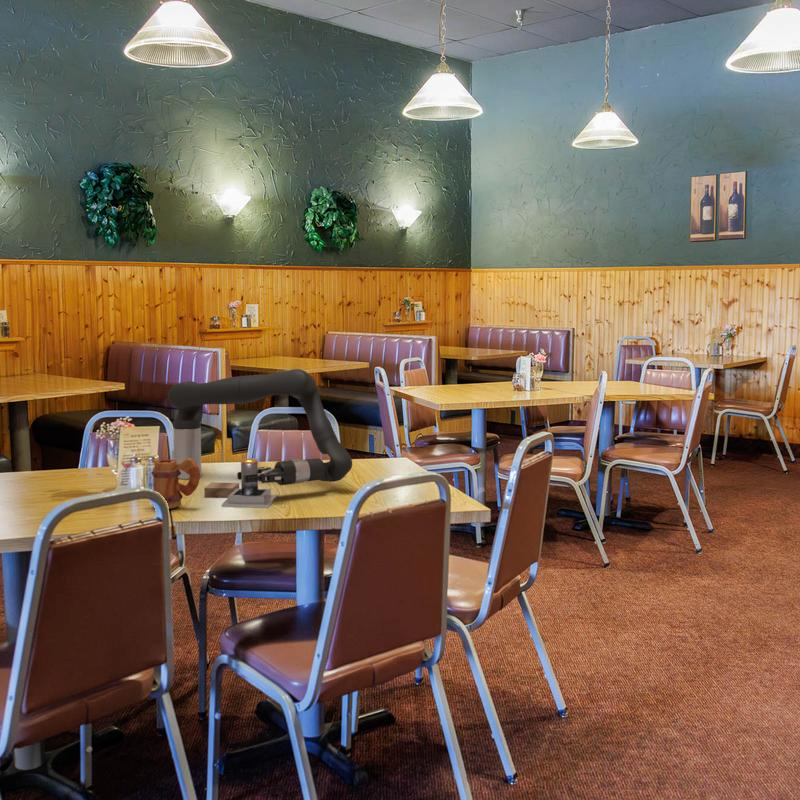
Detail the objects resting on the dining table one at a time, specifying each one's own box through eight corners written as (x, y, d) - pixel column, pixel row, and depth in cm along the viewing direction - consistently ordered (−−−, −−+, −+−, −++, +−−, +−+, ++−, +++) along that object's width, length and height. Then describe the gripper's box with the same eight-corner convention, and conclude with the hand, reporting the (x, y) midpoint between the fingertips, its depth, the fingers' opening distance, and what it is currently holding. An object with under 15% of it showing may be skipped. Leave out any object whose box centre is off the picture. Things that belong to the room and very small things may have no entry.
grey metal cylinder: (239, 497, 272) (239, 461, 271) (243, 494, 277) (243, 458, 276) (256, 498, 272) (255, 461, 271) (259, 494, 277) (259, 458, 276)
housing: (221, 506, 268) (221, 496, 268) (232, 496, 282) (232, 487, 282) (268, 507, 267) (268, 497, 267) (276, 497, 281) (276, 488, 281)
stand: (204, 497, 281) (204, 487, 281) (211, 491, 290) (211, 482, 290) (233, 497, 280) (232, 488, 280) (239, 491, 289) (239, 482, 289)
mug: (146, 510, 263) (145, 459, 261) (157, 504, 271) (156, 455, 269) (194, 512, 261) (193, 461, 259) (204, 506, 269) (203, 456, 267)
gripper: (282, 456, 287) (232, 461, 278) (302, 463, 275) (250, 469, 266) (282, 479, 288) (232, 485, 279) (302, 487, 276) (250, 494, 267)
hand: (241, 477), depth 273 cm, fingers closed on grey metal cylinder, 5 cm apart
